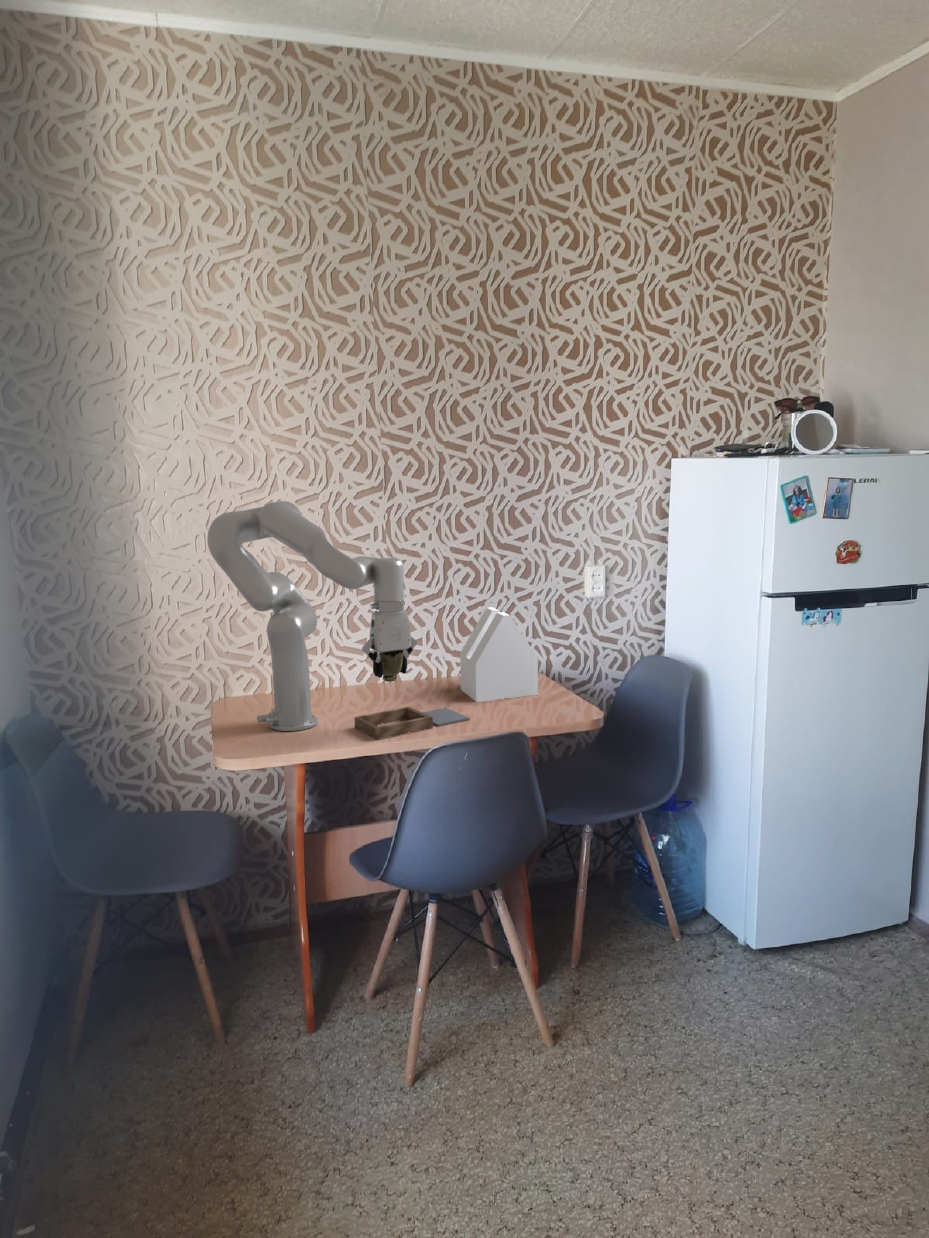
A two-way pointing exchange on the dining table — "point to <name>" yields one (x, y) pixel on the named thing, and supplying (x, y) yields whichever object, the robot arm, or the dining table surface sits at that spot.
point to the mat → (445, 717)
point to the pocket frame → (412, 725)
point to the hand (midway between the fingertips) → (390, 673)
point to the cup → (391, 664)
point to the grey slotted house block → (498, 660)
